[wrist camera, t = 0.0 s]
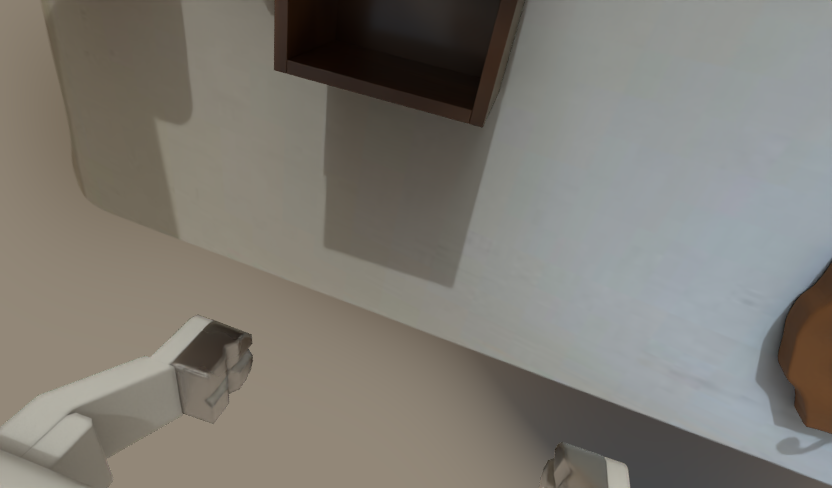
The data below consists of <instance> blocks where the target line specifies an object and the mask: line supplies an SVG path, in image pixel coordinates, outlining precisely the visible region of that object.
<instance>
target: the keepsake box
mask: <svg viewBox="0 0 832 488" xmlns="http://www.w3.org/2000/svg"><path fill="white" fill-rule="evenodd" d="M524 2H525V0H275V29H274V70H276V71H279V72H283V73H287V74H290V75H294V76H298V77H301V78H305V79H308V80H312V81H316V82H319V83H323V84H327V85H330V86H334V87H338V88H341V89H345V90H348V91H352V92H356V93H359V94H363V95H367V96H370V97H374V98H377V99H381V100H385V101H388V102H392V103H396V104H399V105H403V106H406V107H410V108H414V109H417V110H421V111H425V112H428V113H432V114H436V115H439V116H443V117H446V118H450V119H454V120H457V121H461V122H465V123H469V124H472V125H475V126H479V127H483V126H484V123H485V121H486V119H487V117H488V115H489V113H490V110H491V108H492V106H493V104H494V102H495V100H496V97H497V95H498V93H499V90H500V87H501V83H502V80H503V76H504V73H505V69H506V66H507V62H508V59H509V55H510V52H511V48H512V44H513V41H514V37H515V34H516V30H517V27H518V23H519V20H520V16H521V13H522V9H523V6H524Z"/></svg>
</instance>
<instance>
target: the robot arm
mask: <svg viewBox="0 0 832 488" xmlns="http://www.w3.org/2000/svg"><path fill="white" fill-rule="evenodd" d="M251 344H252V335H251V334H249V333H246V332H243V331H241V330H238V329H235V328H233V327H231V326H228V325H225V324H223V323H220V322H217V321H215V320H212V319H209V318H206V317H204V316H200V315H196V316H193V317H192V318H190V319H189V320H188V321H187V322H186V323H185V324H184V325H183V326H182V327H181V328H180V329H179V330H178V331H177V332H176V333H175V334H174V335H173V336H172V337H171V338H170V339H169V340H168V341H167V342H166V343H164V344H163V345H162V346H161V347H160V348H159V349H158V350H157V351H156V352H155V353H154V354H153V355H152V356H151V357H147V356H143V357H141V358H138V359H135V360H132V361H130V362H127V363H124V364H122V365H119V366H116V367H113V368H111V369H108V370H106V371H103V372H100V373H97V374H94V375H92V376H89V377H86V378H84V379H81V380H78V381H76V382H73V383H70V384H67V385H65V386H62V387H59V388H57V389H54V390H51V391H49V392H46V393H43V394H40V395H38V396H37V397H35V398H34V399H33V400H32V401H31V402H30V403H28V404H27V405H26V406H25V407H24V408H22V409H21V410H20V411H19V412H18V413H17V414H15V415H14V416H13V417H12V418H11V419H9V420H8V421H7V422H6V423H5V424H3V425H2V426H1V427H0V488H108V487H109V486H110V484H111V483H112V473H111V470H110V468H109V465H108V462H107V458H109V457H110V456H112V455H114V454H116V453H117V452H119V451H121V450H123V449H125V448H126V447H128V446H130V445H132V444H133V443H135V442H137V441H139V440H140V439H142V438H144V437H146V436H147V435H149V434H151V433H153V432H155V431H156V430H158V429H160V428H162V427H163V426H165V425H167V424H169V423H170V422H172V421H174V420H175V419H177V418H179V417H181V416H182V415H183V414H186V415H189V416H192V417H195V418H197V419H200V420H203V421H206V422H209V423H212V424H214V423H215V421H216V420H217V419H218V417H219V416H220V415H221V413H222V412H223V411H224V409H225V408H226V407H227V405H228V404H229V394H230V393H232V392H234V391H236V390H239V389H240V388H241V386H242V385H243V383H244V382H245V381H246V379H247V377H248V374H249V372H250V370H251V366H252V362H253V360H252V359H253V357H252V356H253V355H252V354H251V352H250V351H249V349H248V348H249V347H250V345H251ZM182 413H183V414H182ZM539 488H630V481H629V474H628V468H627V467H626V465H625V464H624V463H621V462H618V461H615V460H612V459H609V458H607V457H603V456H602V455H599V454H596V453H593V452H590V451H587V450H585V449H582V448H579V447H576V446H573V445H570V444H567V443H563V442H561V443H559V444H558V445H557V447H556V448H555V457H554V458H553V459H550V460H548V461H547V463H546V465H545V467H544V469H543V472H542V475H541V478H540V485H539Z"/></svg>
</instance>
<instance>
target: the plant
mask: <svg viewBox="0 0 832 488" xmlns="http://www.w3.org/2000/svg"><path fill="white" fill-rule="evenodd" d="M778 361H779V364H780V366H781V368H782V370H783V372H784V374H785V376H786V378H787V380H788V381H789V382H790V383H791V384H792V385H793V386H794V387H795V395H796V396H795V404H794V407H795V409H796V410H797V412H798V414H799V416H800V418H801V419H802V421H803V423H804V424H805V425H806V427H810V428H815V429H818V430H822V431H825V432H828V433H831V434H832V263H831V264H830V266H829V267H828V269H827V270H826V271H825V273H824V274H823V275H822V277H821V278H820V279H819V280H818V281H817V282H816V284H815V285H814V286H812V287H811V288H810V289H808V290H807V291H805V292H804V293H803V294H801V295H800V296H799V298H798V299H797V300H796V302H795V303H794V305H793V306H792V308H791V310H790V311H789V313H788V316H787V318H786V321H785V327H784V333H783V337H782V341H781V345H780V348H779V353H778Z"/></svg>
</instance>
